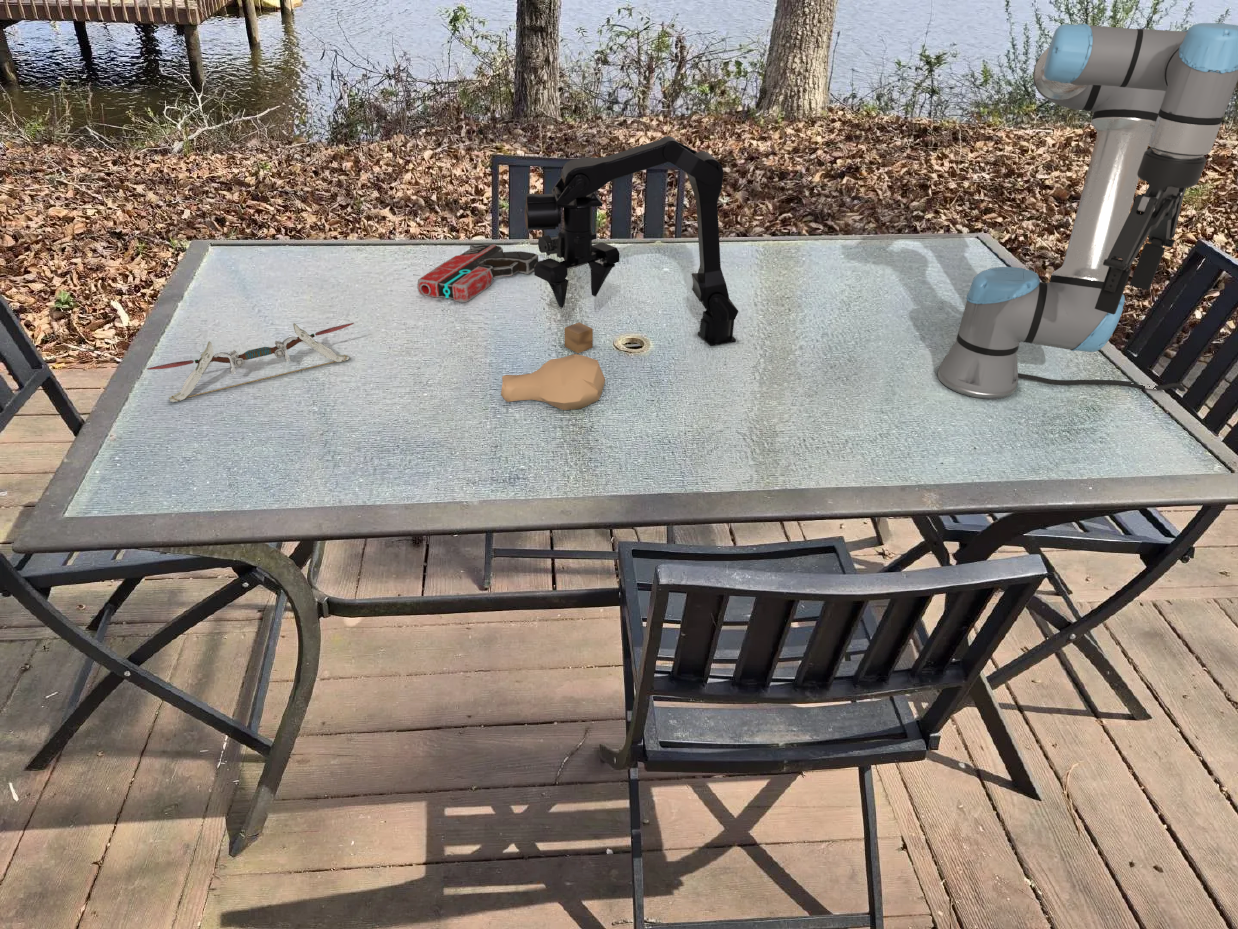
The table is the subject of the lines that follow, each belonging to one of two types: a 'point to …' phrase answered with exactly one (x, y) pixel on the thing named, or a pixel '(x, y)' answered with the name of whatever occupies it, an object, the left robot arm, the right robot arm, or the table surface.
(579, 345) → the block
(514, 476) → the table surface
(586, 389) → the squash
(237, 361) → the bow
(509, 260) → the gun
